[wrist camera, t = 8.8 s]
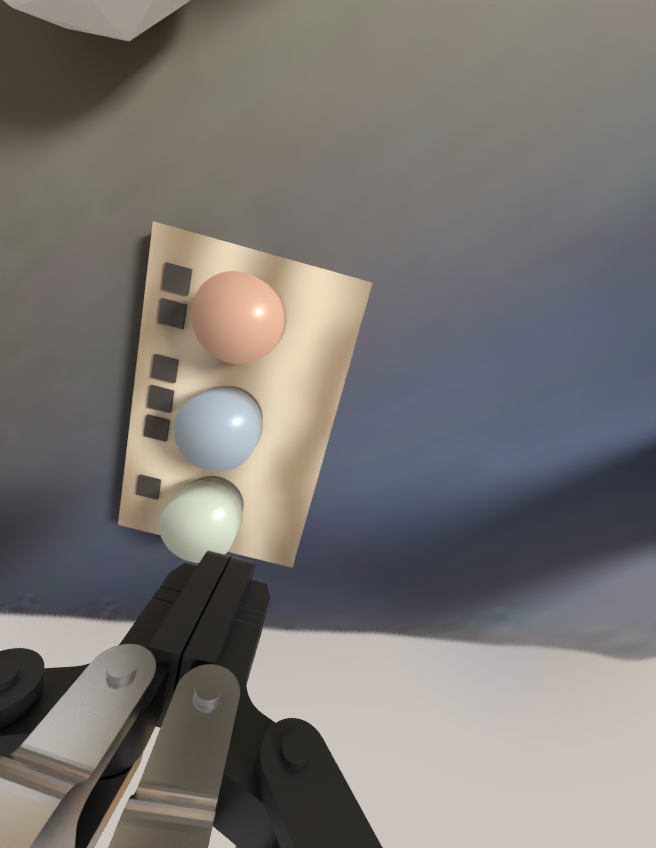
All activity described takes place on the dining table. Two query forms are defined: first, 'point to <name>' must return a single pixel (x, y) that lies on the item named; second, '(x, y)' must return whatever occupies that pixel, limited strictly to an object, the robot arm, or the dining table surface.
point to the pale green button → (201, 520)
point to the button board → (262, 380)
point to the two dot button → (238, 317)
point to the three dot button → (218, 428)
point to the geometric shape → (101, 14)
